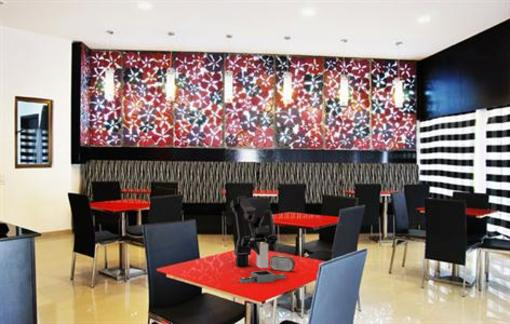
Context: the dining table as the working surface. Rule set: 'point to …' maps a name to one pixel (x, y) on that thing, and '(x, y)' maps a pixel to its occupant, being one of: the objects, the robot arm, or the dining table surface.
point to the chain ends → (262, 277)
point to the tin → (282, 263)
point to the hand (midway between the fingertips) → (263, 254)
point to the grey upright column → (262, 255)
